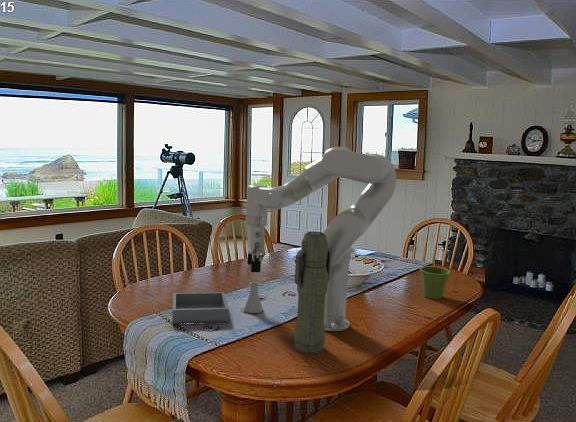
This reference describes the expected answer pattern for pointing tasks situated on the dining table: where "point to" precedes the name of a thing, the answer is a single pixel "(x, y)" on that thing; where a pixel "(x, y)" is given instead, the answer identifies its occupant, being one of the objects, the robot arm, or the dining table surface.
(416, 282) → the dining table surface
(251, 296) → the flask
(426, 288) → the plant pot
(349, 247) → the robot arm
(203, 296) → the bin
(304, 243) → the grey stone statue
